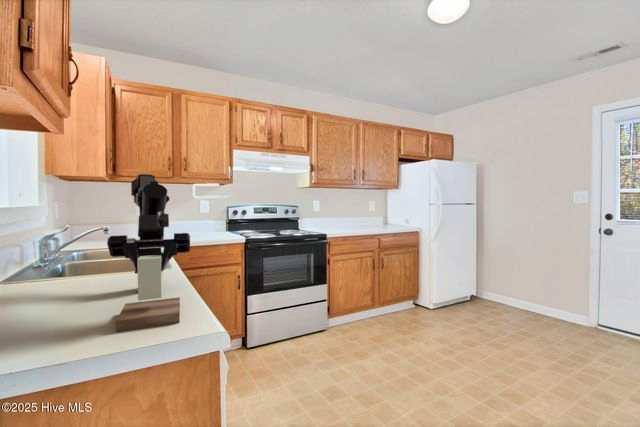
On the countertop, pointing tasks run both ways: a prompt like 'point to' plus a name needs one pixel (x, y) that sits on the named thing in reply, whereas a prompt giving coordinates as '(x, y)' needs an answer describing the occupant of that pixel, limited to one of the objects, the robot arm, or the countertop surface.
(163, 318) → the walnut stand
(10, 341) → the countertop surface
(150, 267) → the sage block
